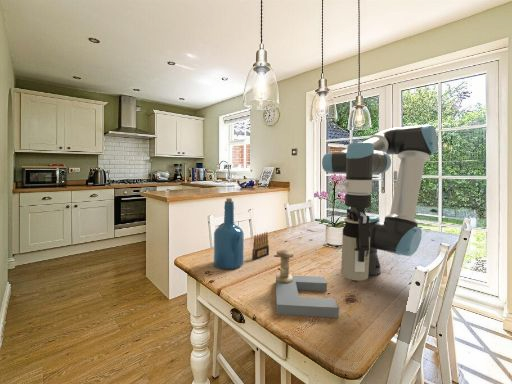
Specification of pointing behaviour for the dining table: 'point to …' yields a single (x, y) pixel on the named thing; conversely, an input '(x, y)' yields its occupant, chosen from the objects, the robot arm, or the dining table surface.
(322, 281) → the notched board
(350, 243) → the travel mug
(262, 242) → the ammunition clip
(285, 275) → the birch bobbin
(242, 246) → the wine bottle
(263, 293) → the dining table surface
